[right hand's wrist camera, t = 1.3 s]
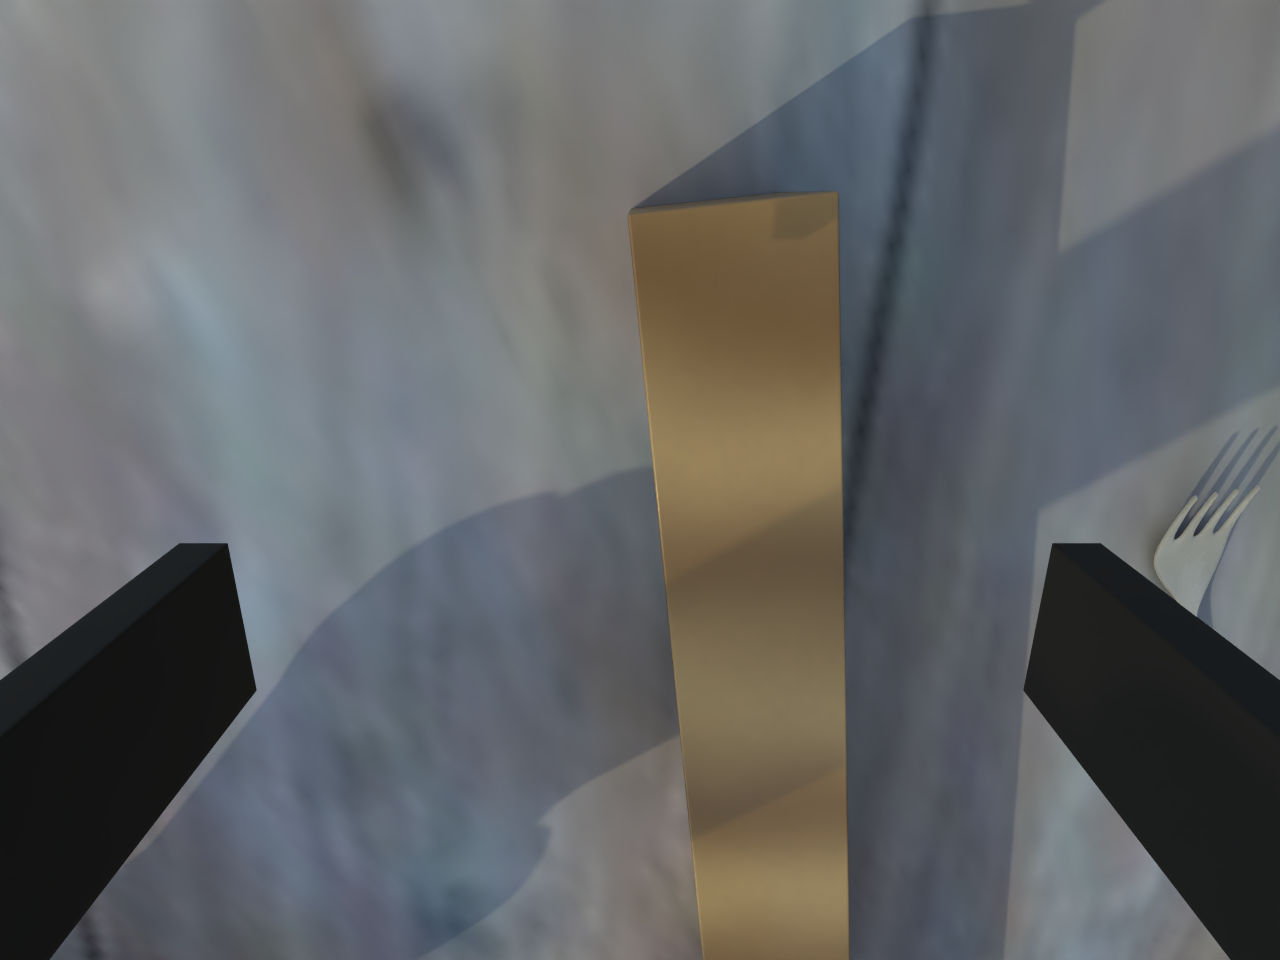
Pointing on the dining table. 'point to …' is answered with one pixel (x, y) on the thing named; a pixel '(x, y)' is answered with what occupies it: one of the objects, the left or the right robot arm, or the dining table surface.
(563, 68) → the dining table surface
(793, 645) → the post
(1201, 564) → the fork
